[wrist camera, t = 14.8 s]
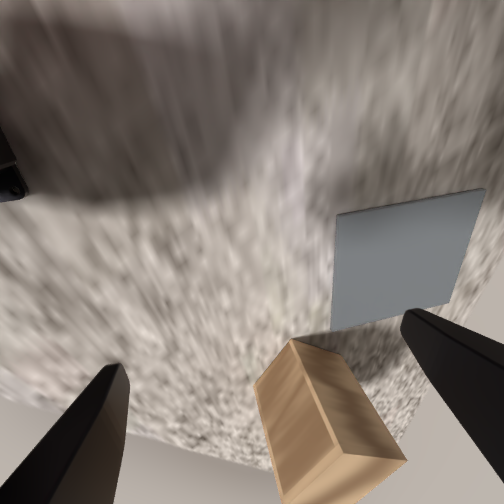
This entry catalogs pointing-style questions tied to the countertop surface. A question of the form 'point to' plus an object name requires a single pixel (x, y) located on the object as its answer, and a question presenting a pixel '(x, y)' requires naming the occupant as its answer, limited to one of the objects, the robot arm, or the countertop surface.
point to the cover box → (322, 429)
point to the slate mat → (400, 257)
